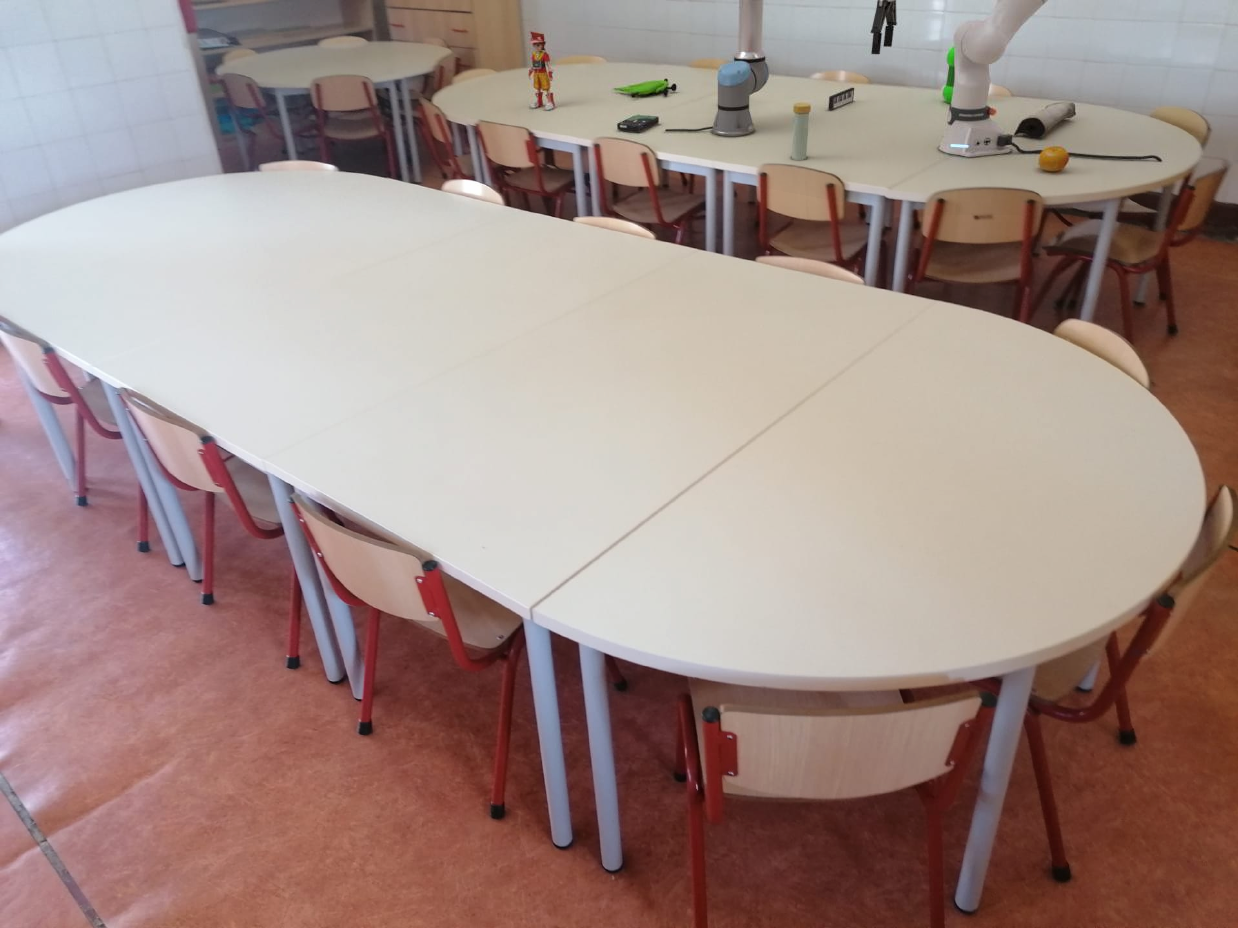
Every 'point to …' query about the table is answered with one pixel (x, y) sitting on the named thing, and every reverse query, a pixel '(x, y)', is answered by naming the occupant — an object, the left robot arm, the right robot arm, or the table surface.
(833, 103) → the midi keyboard
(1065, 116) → the rolled mat
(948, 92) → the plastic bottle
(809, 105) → the lid
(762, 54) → the left robot arm
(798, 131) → the jar
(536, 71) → the toy
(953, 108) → the right robot arm
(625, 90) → the toy
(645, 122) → the disk drive
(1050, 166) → the fruit
